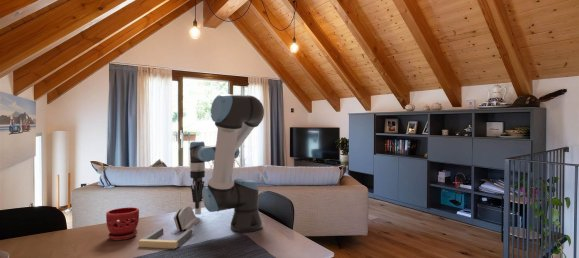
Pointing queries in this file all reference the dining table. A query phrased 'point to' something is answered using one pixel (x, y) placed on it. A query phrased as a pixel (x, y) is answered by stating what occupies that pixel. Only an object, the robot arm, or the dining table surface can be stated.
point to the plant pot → (122, 223)
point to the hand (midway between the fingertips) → (198, 214)
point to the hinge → (185, 219)
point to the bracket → (150, 241)
